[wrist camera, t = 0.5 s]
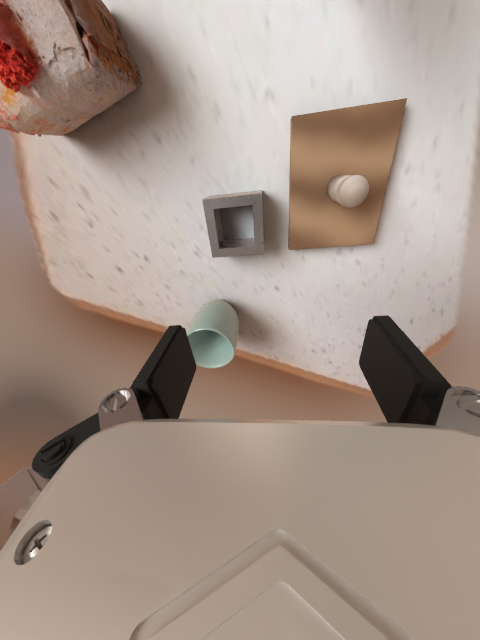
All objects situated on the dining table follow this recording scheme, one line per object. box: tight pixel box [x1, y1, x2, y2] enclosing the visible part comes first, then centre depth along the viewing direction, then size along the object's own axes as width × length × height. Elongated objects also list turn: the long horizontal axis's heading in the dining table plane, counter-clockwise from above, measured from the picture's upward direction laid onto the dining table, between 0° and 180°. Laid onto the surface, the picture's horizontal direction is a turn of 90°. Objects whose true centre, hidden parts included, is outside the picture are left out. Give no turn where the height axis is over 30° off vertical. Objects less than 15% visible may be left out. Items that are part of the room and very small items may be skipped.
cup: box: [186, 300, 239, 368], centre depth 36 cm, size 8×8×10 cm
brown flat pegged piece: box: [288, 98, 407, 250], centre depth 24 cm, size 14×11×8 cm
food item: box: [0, 0, 141, 137], centre depth 20 cm, size 14×8×10 cm, turn 111°
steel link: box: [203, 190, 264, 257], centre depth 29 cm, size 7×7×4 cm
